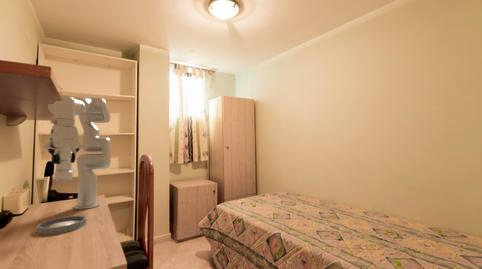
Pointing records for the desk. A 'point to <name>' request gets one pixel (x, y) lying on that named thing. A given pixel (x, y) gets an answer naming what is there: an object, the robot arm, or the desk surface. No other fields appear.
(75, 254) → the desk surface
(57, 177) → the plastic bottle
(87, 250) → the desk surface
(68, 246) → the desk surface
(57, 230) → the round tray
